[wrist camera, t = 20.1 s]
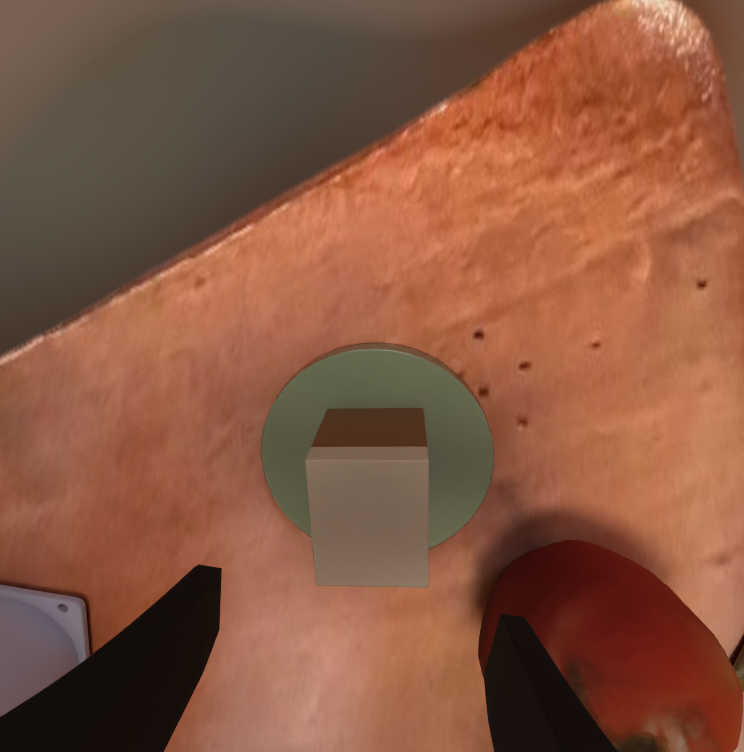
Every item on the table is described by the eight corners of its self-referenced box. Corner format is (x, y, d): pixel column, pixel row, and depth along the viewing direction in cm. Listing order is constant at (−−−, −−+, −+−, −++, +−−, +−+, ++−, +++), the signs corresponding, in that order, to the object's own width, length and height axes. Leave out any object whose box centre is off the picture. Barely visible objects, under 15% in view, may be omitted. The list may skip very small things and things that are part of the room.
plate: (261, 526, 22) (254, 540, 21) (274, 326, 19) (268, 331, 18) (465, 559, 22) (468, 573, 21) (513, 361, 19) (518, 368, 18)
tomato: (648, 668, 23) (766, 881, 16) (465, 661, 24) (493, 862, 16) (679, 510, 20) (841, 678, 13) (470, 508, 21) (507, 666, 14)
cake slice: (334, 511, 21) (315, 586, 16) (326, 408, 19) (304, 460, 15) (423, 512, 20) (428, 588, 16) (423, 407, 19) (429, 460, 14)
